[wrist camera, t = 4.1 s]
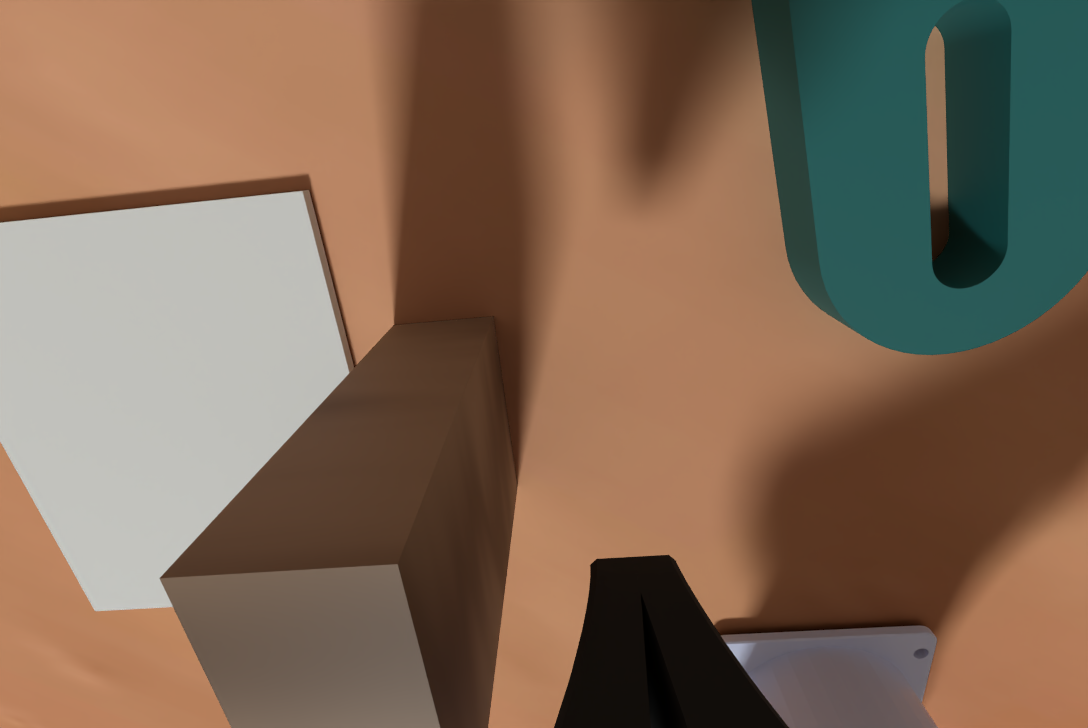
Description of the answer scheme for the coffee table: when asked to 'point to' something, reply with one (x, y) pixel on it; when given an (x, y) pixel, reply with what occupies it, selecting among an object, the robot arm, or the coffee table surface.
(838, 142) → the bracket
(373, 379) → the walnut block
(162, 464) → the grey mat
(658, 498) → the coffee table surface
